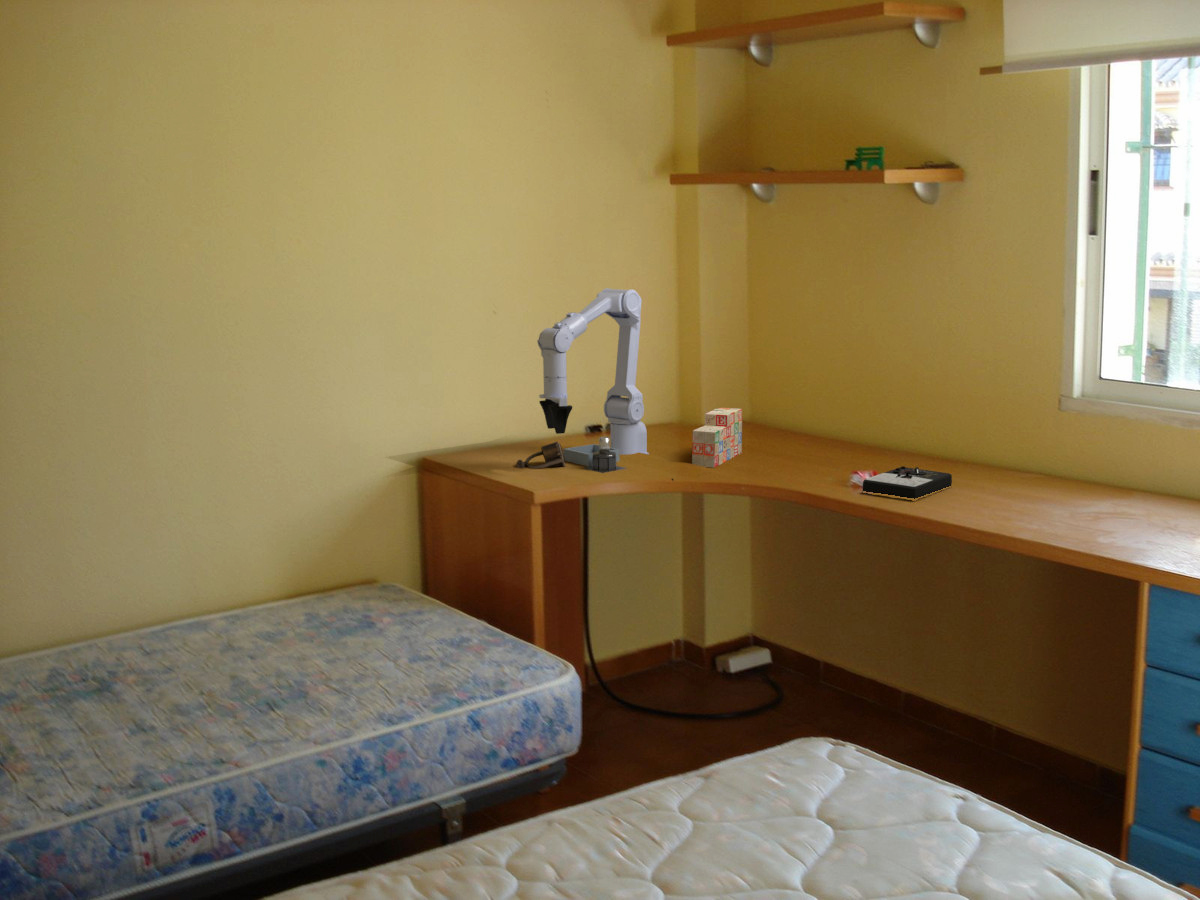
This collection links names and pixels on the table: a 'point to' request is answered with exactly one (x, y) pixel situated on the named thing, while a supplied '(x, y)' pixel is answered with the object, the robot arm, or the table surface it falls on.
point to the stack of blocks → (718, 437)
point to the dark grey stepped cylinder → (604, 456)
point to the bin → (584, 454)
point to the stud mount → (604, 470)
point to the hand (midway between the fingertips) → (556, 430)
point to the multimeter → (907, 482)
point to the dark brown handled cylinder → (546, 457)
